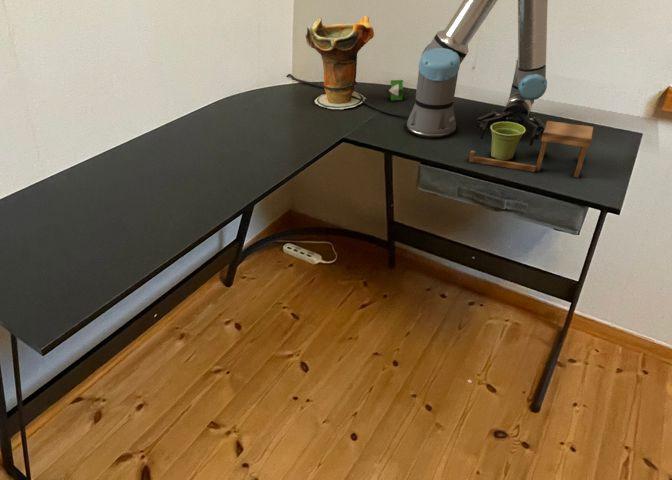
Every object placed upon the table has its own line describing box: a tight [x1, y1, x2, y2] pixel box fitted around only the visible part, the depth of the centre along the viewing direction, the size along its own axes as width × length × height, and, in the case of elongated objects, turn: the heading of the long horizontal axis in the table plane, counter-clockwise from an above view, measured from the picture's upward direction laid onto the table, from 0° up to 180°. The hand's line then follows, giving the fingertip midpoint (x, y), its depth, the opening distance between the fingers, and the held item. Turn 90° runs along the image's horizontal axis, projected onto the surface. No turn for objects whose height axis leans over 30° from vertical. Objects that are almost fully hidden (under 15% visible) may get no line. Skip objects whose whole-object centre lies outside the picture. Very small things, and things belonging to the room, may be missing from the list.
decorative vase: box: [305, 15, 375, 110], centre depth 207 cm, size 21×23×28 cm
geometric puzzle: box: [386, 79, 408, 101], centre depth 213 cm, size 7×7×8 cm
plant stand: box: [468, 120, 594, 178], centre depth 169 cm, size 30×13×11 cm, turn 64°
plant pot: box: [489, 122, 526, 161], centre depth 173 cm, size 9×9×9 cm
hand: (506, 137), depth 172 cm, fingers open, 13 cm apart
